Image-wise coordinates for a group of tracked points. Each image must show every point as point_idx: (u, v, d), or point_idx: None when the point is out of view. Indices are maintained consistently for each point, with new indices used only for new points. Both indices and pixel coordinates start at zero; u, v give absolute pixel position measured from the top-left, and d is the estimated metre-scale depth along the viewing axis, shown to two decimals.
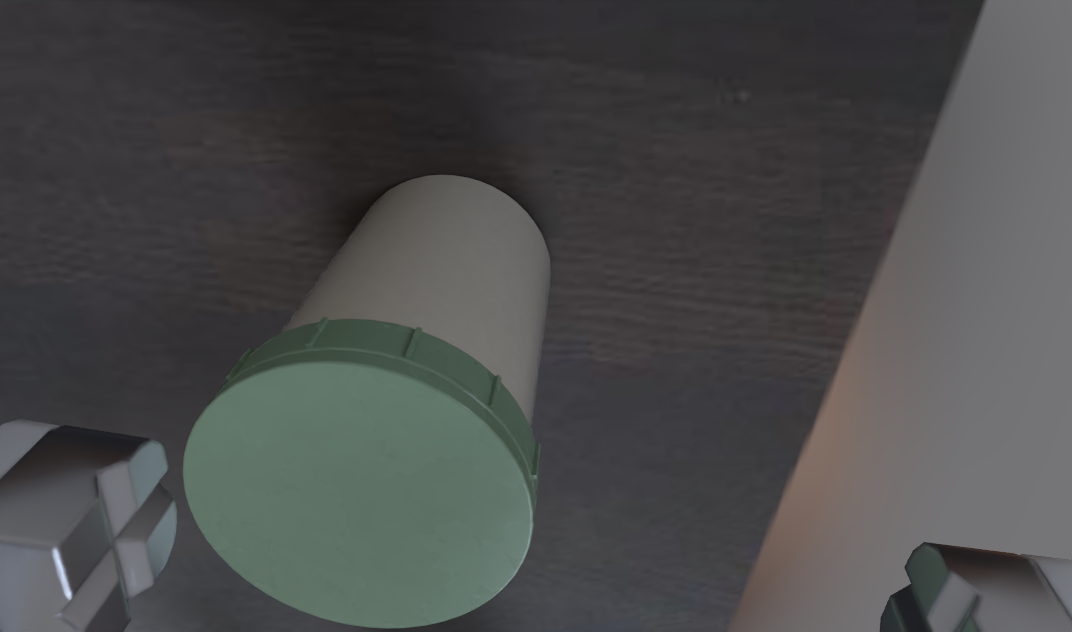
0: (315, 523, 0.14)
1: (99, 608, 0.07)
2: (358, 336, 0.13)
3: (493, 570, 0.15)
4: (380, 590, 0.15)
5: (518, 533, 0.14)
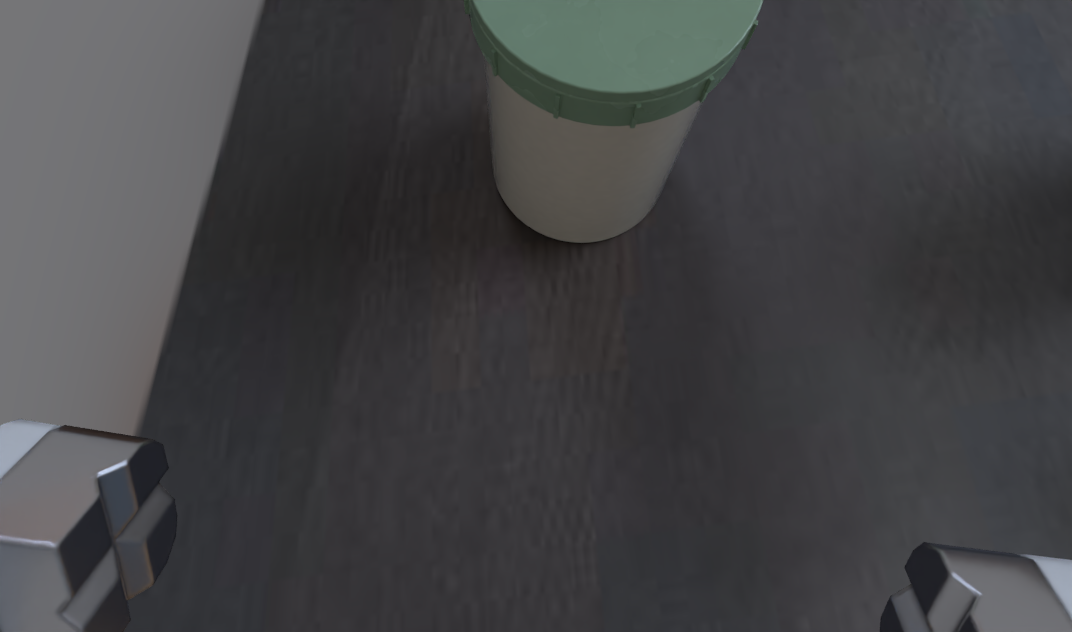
0: None
1: (99, 608, 0.07)
2: None
3: None
4: None
5: None
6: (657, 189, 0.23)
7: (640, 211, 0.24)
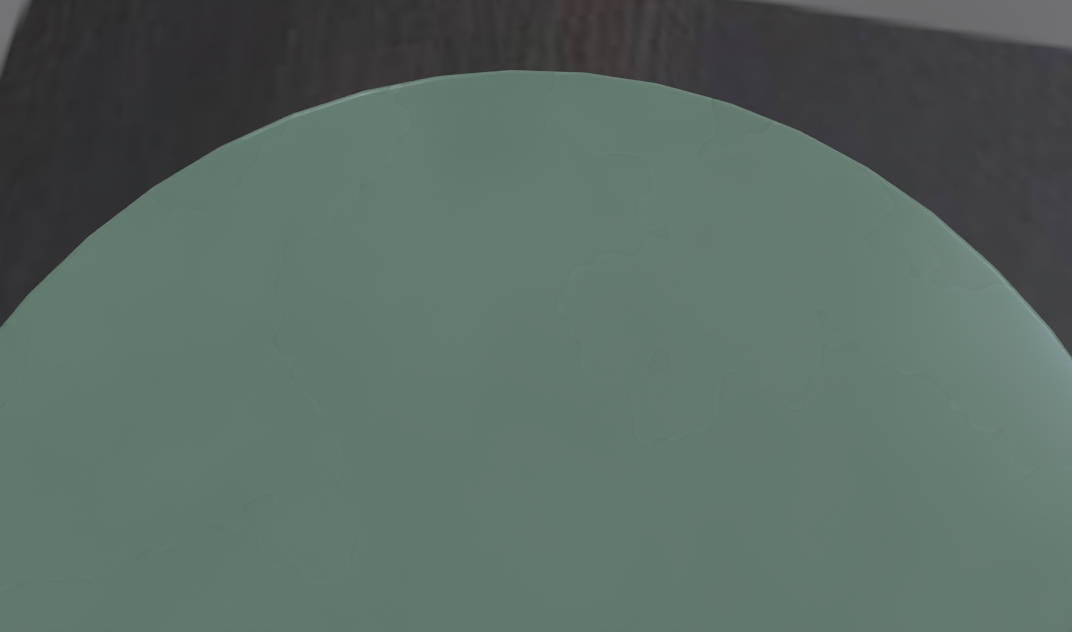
0: None
1: None
2: None
3: (782, 193, 0.04)
4: None
5: (602, 112, 0.04)
6: None
7: None
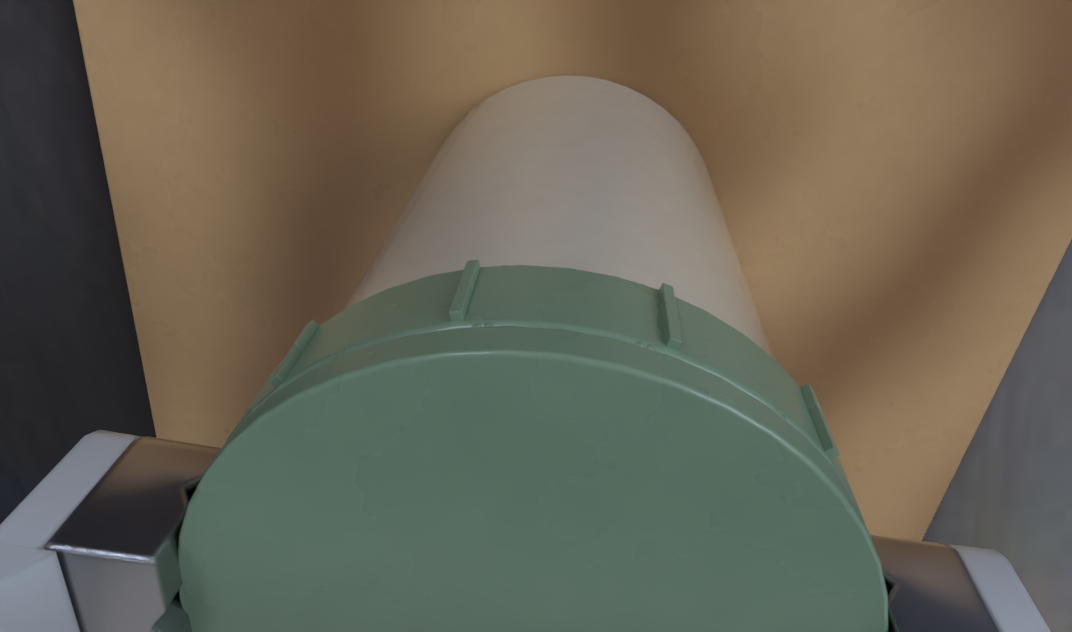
0: None
1: (186, 620, 0.07)
2: None
3: (701, 449, 0.06)
4: None
5: (574, 386, 0.06)
6: None
7: None
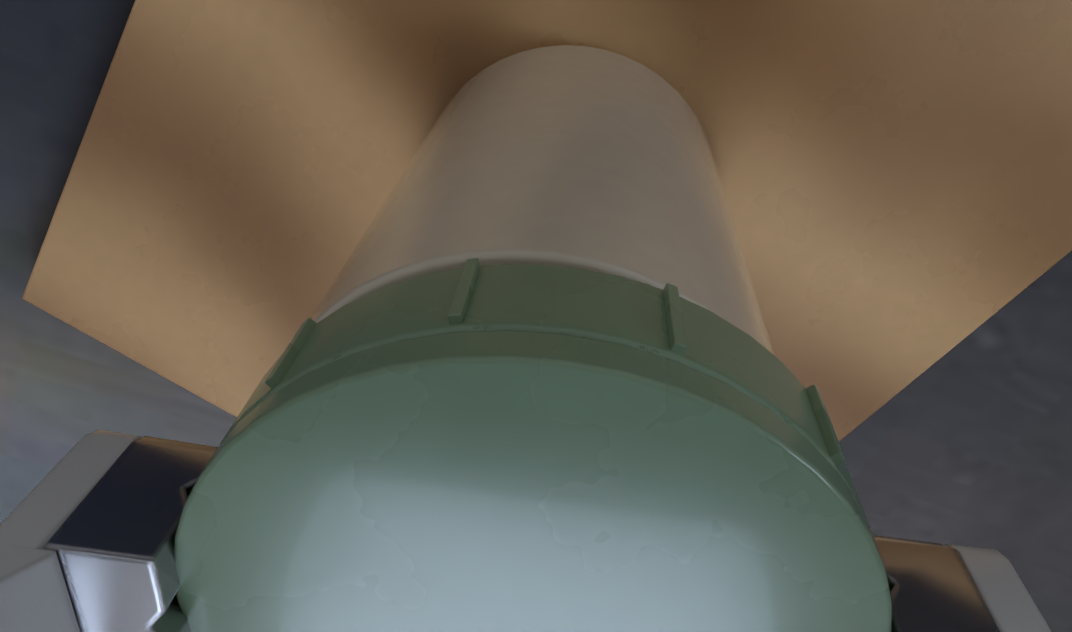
0: None
1: (186, 620, 0.07)
2: None
3: (705, 456, 0.06)
4: None
5: (577, 393, 0.05)
6: None
7: None
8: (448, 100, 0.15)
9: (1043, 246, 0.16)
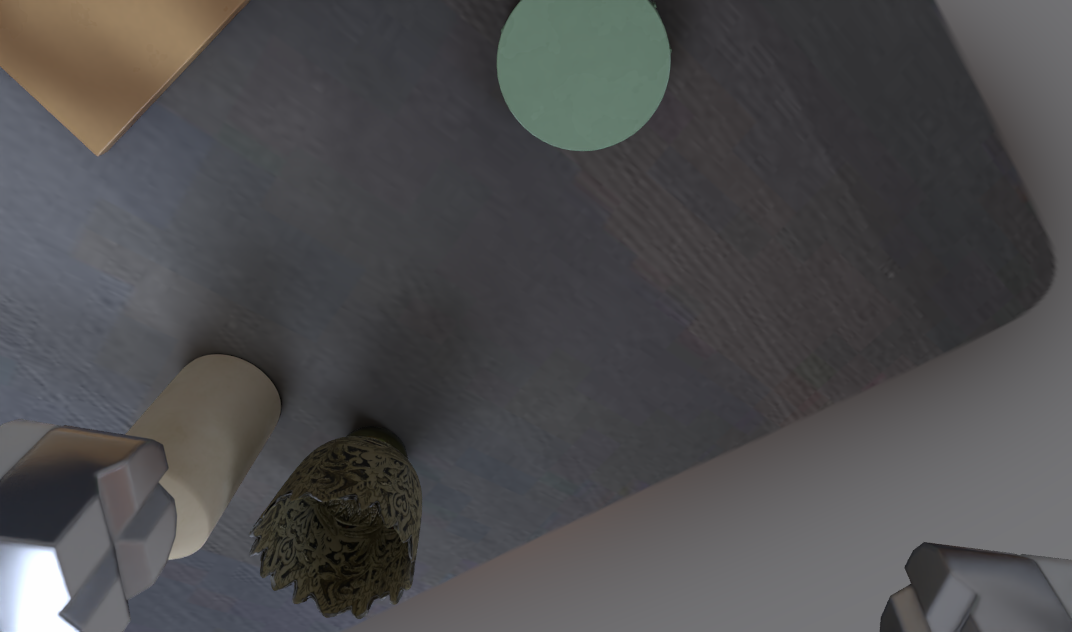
0: (591, 89, 0.29)
1: (99, 608, 0.07)
2: None
3: None
4: (639, 62, 0.28)
5: None
6: None
7: None
8: None
9: None
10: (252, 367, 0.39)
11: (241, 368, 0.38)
